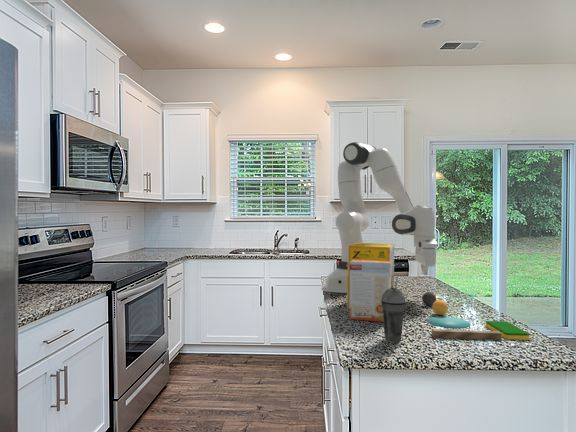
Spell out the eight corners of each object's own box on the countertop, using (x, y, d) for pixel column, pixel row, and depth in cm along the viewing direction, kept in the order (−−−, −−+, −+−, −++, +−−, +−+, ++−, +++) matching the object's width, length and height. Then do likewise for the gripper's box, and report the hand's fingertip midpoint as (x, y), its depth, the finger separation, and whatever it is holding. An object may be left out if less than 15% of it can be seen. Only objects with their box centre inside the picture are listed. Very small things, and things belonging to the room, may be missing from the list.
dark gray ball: (423, 306, 161) (424, 293, 161) (420, 303, 167) (420, 290, 167) (437, 307, 161) (438, 293, 161) (433, 304, 166) (434, 291, 166)
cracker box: (390, 319, 143) (391, 260, 142) (389, 323, 137) (390, 262, 137) (351, 315, 147) (352, 259, 147) (348, 319, 141) (349, 260, 141)
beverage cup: (377, 336, 122) (378, 271, 122) (400, 336, 123) (401, 271, 122) (385, 344, 115) (385, 275, 115) (409, 344, 115) (410, 275, 115)
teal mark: (433, 327, 132) (433, 326, 132) (422, 316, 146) (422, 315, 146) (477, 328, 131) (477, 328, 131) (462, 317, 145) (462, 317, 145)
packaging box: (355, 299, 173) (355, 242, 173) (393, 303, 167) (394, 244, 167) (347, 308, 158) (347, 245, 158) (388, 312, 152) (389, 247, 152)
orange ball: (434, 316, 146) (434, 301, 146) (430, 312, 152) (430, 298, 152) (449, 317, 146) (450, 302, 146) (445, 313, 151) (445, 298, 151)
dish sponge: (506, 341, 121) (506, 333, 121) (485, 327, 135) (485, 320, 135) (530, 341, 121) (530, 333, 120) (506, 328, 134) (506, 321, 134)
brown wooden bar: (433, 337, 122) (433, 331, 122) (431, 335, 124) (431, 329, 124) (501, 339, 120) (501, 333, 120) (498, 337, 122) (498, 331, 122)
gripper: (411, 241, 183) (411, 271, 183) (422, 244, 163) (423, 278, 163) (425, 241, 183) (425, 271, 183) (438, 244, 162) (439, 278, 162)
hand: (424, 274), depth 173 cm, fingers closed
